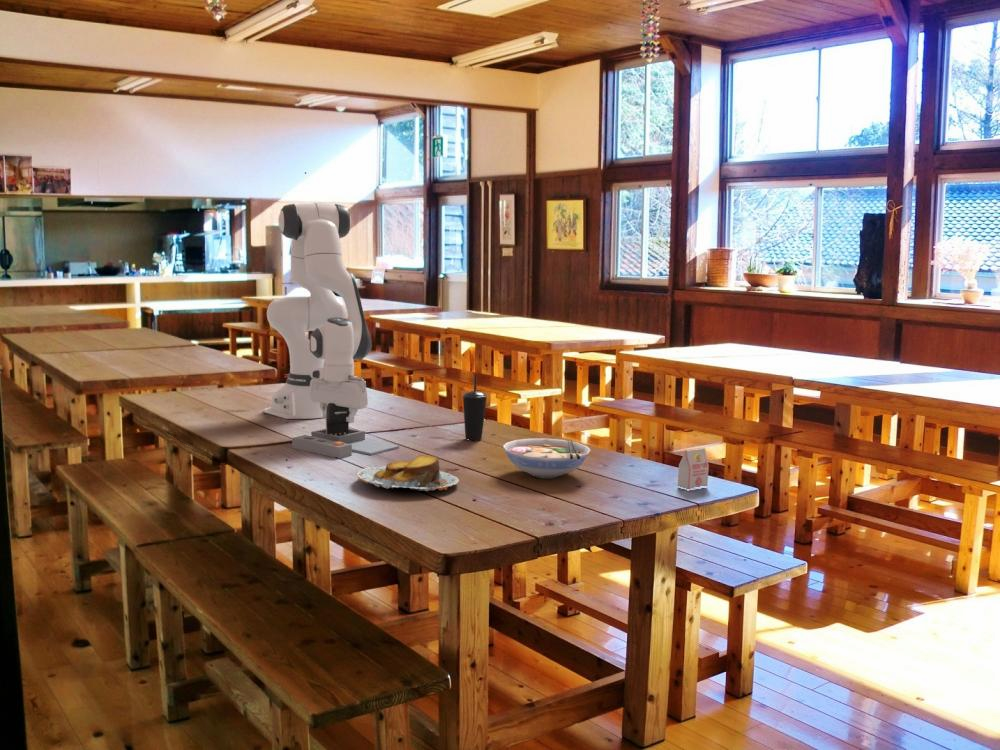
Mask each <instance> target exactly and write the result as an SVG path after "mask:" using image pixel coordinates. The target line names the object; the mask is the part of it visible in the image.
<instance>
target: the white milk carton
mask: <svg viewBox="0 0 1000 750" xmlns="http://www.w3.org/2000/svg"><path fill="white" fill-rule="evenodd" d="M707 457H708V456H707V453H706V448H697V449H695V448H694V449H689V450H688V449H687V450H684V453H683V455H682V458H681V459H680V462H679V464H678V471H677V472H678V473H677V486H680V487H683V488H686V489H691V488H694V487H700V486H707V487H708V483H709V481H708V480H709V469H710V468H709V467H710V466H709V462H708V458H707Z"/></svg>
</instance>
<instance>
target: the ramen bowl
mask: <svg viewBox="0 0 1000 750" xmlns="http://www.w3.org/2000/svg"><path fill="white" fill-rule="evenodd" d="M502 448H503V450H504V452H505V454H506V455H507V458H508V459H509V460H510V461H511V463H512V464H513V465H514V467H516V468H518V469H519V470H520V471H522V472H525V473H527V474H530V475H531V476H532V475H534V476H533V477H535V476H537V477H536V478H538V477H543V478H542V479H554V478H553V477H556V478H559V477H561V476H563V475H566V474H569V473H573V472H575V471H576V470H578V468H580V467H581V466H582V464H583V462H584V461H585V460H587V457H588V456H589V454H590V452H591V448H590V447H589V446H587V445H586V444H585V445H584V444H581V443H580V442H577V441H572V438H571V437H569V438H567V440H565V439H557V438H556V439H555V438H522V439H515V440H511V441H507V442H506V443H505V444H503V445H502ZM558 476H559V477H558Z"/></svg>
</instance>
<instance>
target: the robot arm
mask: <svg viewBox="0 0 1000 750" xmlns="http://www.w3.org/2000/svg"><path fill="white" fill-rule="evenodd" d="M350 214H351V213H350V211H349V209H348V207H347V206H345V205H342V204H337V203H334V204H331V203H322V202H321V203H320V202H314V203H300V204H295V203H291V204H286V205H284V206H282V208H281V209H280V211H279V215H278V219H277V220H278V227H279V229H280V233H281V234H282V235H283V236H284V237H285V238H287V239H291V253H290V277H291V280H292V281H293V283H294V284H296V285H298V286H299V287H301V288H303V289H306V290H307V291H309V293H310V296H304V297H303V296H285V297H280V298H274V299H273V300H271V301H270V303H269V305H268V307H267V310H266V317H267V321H268V323H269V325H270V326H271V327H272V328H273V329H274V330H275V331H277V332H278V333H279V334H280V335H281V336H282V337H283V339H284V340H285V341H284V342H285V343H286V345H287V348H288V353H289V366H290V368H289V372H288V373H286V374H284V377H283V378H286V381H285V384H283V385H282V386H280V388H279V389H278V390H276V391H275V392H274V393H273V394H272V396H271V400H270V406H269V407H266V408H263V413H265V414H267V415H268V414H269V415H272V416H275V417H279V418H282V419H285V420H289V419H290V420H294V419H303V420H304V419H307V420H309V419H320V418H321V419H325V420H326V405H327V404H328V403H334V404H335V405H336V406H341V407H347V408H349V411H350V414H349V416H347V417H346V419H347V420H346V422H347V423H349V424H352V423H354V422H355V417H356V415H357V412H358V410H363V409H366V408H367V406H368V403H369V402H368V391H367V383H366V381H365V380H364V379H363V377H361V376H355V360H359V361H360V360H362V359H365V357H367V356H368V355H369V353H370V352H372V348H373V344H372V343H373V341H372V337H371V333H370V330H369V328H368V325H367V322H366V318H365V314H364V310H363V309H364V307H363V306H362V305H363V304H362V301H361V296H360V292H359V287H358V286H357V282H356V279H355V277H354V275H353V274H351V273H349V271H348V270H347V269H346V266H345V264H344V261H343V253H342V244H341V239H342V238H345V237H346V236H348V234H349V232H350V229H351V225H352V218H351V215H350ZM335 294H337V295H339V296H340V297H341V298H342V299H343V300H342V299H340V298H339V297H338V296H337V295H335ZM306 332H312V333H310V335H309V338H308V337H307V336H306Z"/></svg>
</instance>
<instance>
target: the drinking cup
mask: <svg viewBox="0 0 1000 750" xmlns="http://www.w3.org/2000/svg"><path fill="white" fill-rule="evenodd" d="M473 376H474V377H473V390H469V391H467V392H465V393H462V394H461V396H462V402H463V416H464V417H463V418H464V419H463V420H464V434H465V437H464V438H465V440H466V439H469V440H480V439H481V440H482V438H483V431H484V430H483V429H484V423H485V413H486V404H487V398H488V394H487V393H485V392H483V391H480V390H477V376H478V375H477V373H474V375H473ZM469 440H468V441H469ZM481 440H480V441H481Z"/></svg>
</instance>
